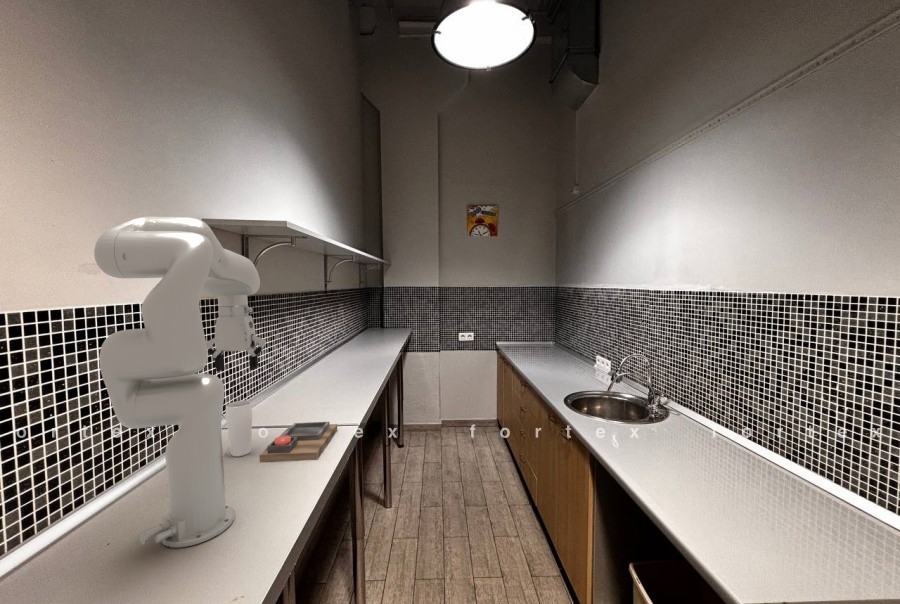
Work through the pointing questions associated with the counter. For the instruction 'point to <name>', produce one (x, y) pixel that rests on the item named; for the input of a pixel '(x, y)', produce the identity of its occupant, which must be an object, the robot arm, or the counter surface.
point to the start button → (282, 440)
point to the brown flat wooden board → (301, 442)
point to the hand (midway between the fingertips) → (237, 369)
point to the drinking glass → (239, 427)
